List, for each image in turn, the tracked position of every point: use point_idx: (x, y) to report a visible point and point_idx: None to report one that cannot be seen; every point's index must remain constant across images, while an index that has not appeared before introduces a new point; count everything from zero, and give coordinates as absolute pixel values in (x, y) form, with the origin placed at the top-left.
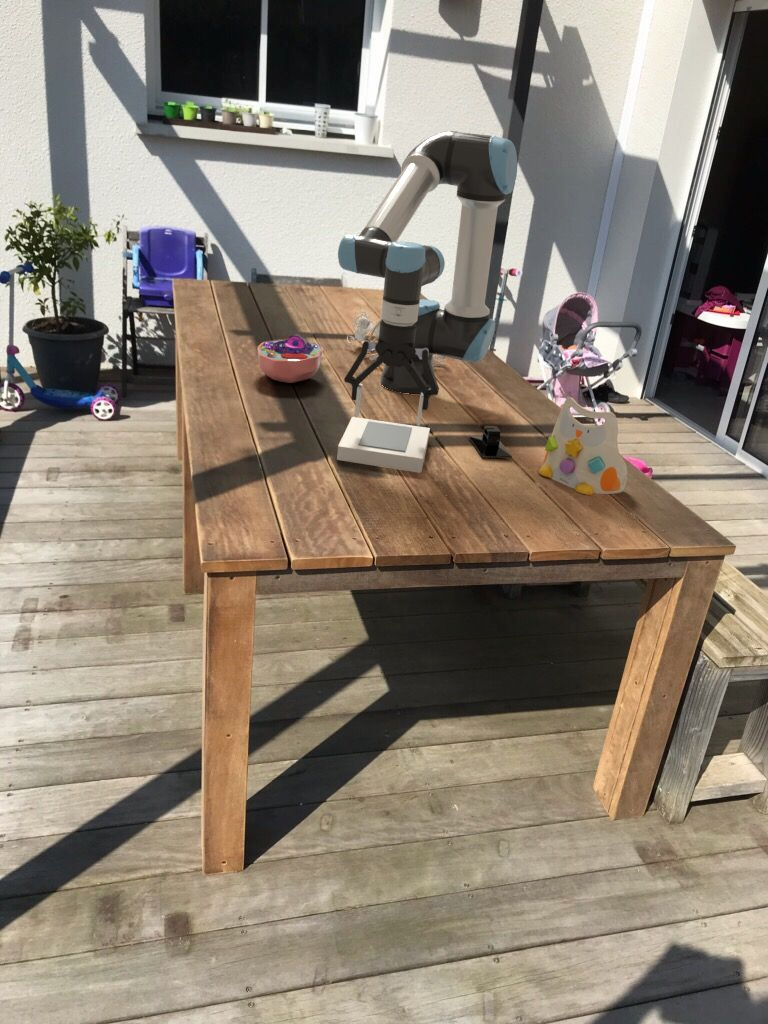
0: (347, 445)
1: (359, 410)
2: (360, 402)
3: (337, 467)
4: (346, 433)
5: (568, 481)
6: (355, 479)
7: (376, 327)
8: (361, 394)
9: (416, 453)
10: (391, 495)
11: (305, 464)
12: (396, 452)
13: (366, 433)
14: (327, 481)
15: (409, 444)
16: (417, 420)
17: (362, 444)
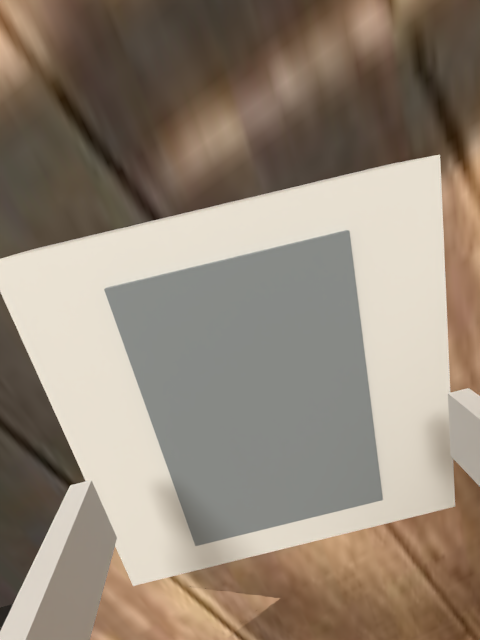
0: (160, 563)
1: (96, 529)
2: (73, 568)
3: None
4: (93, 473)
5: None
6: (243, 573)
7: None
8: (43, 623)
9: (424, 480)
10: (362, 593)
11: None
12: (350, 515)
13: (174, 440)
14: (181, 619)
15: (380, 420)
16: (474, 476)
17: (211, 541)
